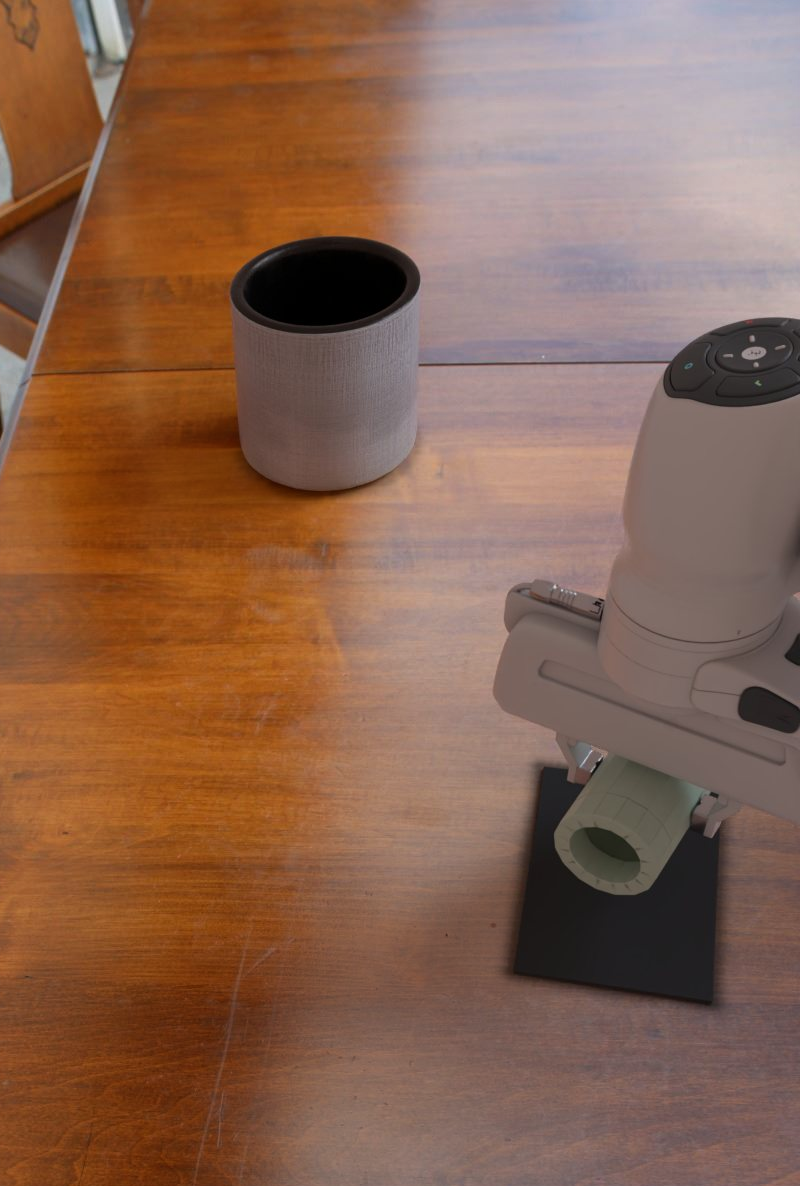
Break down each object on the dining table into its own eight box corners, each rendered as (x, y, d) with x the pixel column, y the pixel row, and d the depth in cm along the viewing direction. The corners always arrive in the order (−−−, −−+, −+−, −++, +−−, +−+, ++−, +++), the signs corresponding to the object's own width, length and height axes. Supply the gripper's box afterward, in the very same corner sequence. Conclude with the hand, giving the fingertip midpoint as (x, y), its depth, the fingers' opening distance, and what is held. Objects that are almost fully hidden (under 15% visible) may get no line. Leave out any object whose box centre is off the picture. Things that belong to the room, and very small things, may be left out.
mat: (543, 771, 95) (544, 766, 94) (719, 792, 92) (721, 787, 92) (512, 976, 85) (513, 970, 84) (710, 1007, 82) (712, 1001, 81)
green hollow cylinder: (761, 714, 81) (673, 855, 75) (718, 775, 87) (632, 911, 81) (668, 662, 83) (574, 797, 77) (631, 726, 88) (540, 856, 82)
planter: (309, 523, 115) (302, 356, 103) (207, 442, 124) (190, 279, 111) (453, 450, 119) (463, 282, 107) (345, 377, 128) (343, 213, 116)
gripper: (482, 602, 74) (467, 772, 85) (856, 733, 65) (786, 904, 76) (535, 539, 77) (513, 712, 88) (900, 657, 68) (826, 832, 79)
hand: (643, 802), depth 82 cm, fingers closed on green hollow cylinder, 6 cm apart
